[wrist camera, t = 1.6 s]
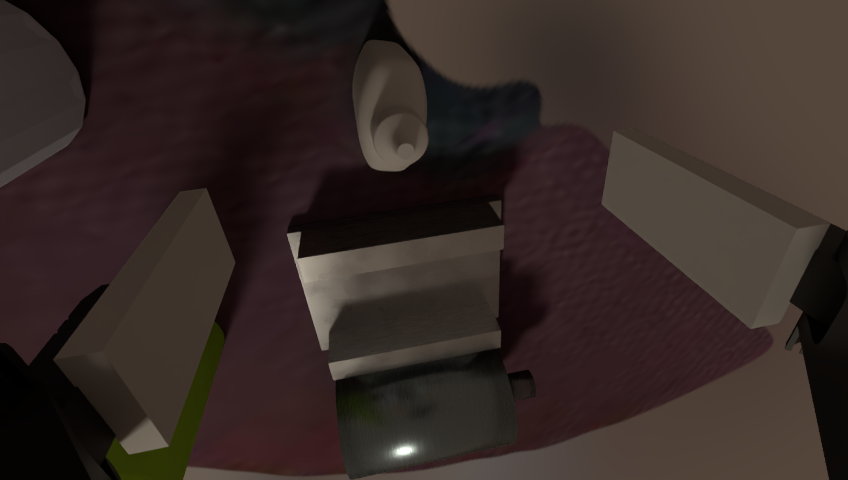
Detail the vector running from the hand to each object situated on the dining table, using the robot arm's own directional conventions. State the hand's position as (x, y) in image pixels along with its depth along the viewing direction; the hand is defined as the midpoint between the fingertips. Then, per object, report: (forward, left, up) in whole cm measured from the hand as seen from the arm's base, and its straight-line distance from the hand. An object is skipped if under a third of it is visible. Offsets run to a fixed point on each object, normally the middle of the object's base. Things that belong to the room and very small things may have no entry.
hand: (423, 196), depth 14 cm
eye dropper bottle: (0, 0, -16) cm, 16 cm away
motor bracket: (+20, +1, -16) cm, 25 cm away
